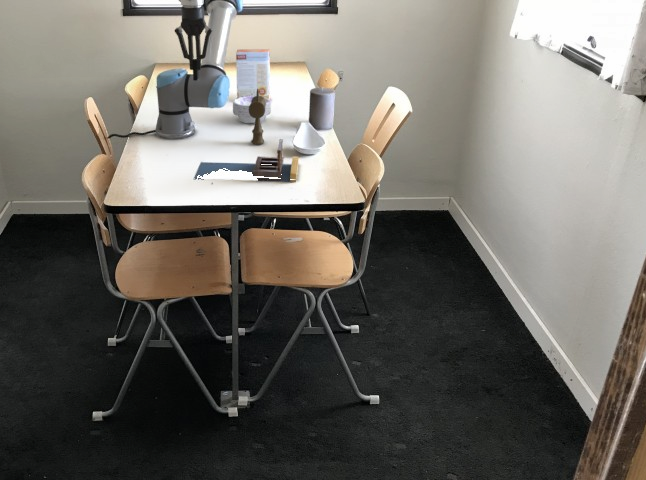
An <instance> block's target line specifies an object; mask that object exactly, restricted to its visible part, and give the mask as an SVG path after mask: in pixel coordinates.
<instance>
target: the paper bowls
mask: <svg viewBox="0 0 646 480" xmlns="http://www.w3.org/2000/svg"><path fill="white" fill-rule="evenodd" d="M253 97H255V96H247V97H240V98H237V97H236V98H235V99H233V101H232V114H233V115H234V116H236V117H237V118H238V120H239V121H240V122H242V123H245V124H255V118H253V117H251V116H250V114H249V106H250V104H251V100H252V98H253ZM264 98H265V97H264ZM265 100H266V107H265V114H264V115H263V117H261V118H260V122H263V121H264V120H265V119H266V117H267V116H269V115H270V114H271V111H272V109H271V106H272V105H271V104H272V102H271V98H270V99H268V98H265Z"/></svg>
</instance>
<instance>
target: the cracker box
mask: <svg viewBox="0 0 646 480" xmlns="http://www.w3.org/2000/svg"><path fill="white" fill-rule="evenodd" d="M270 51H271V50H270V49H269V48H267V49H263V48H261V49H259V48H257V49H256V48H255V49H254V48H253V49H239V48H237V50H236V52H235V59H236V60H235V62H236V63H235V64H236V65H235V67H236V96H237V97H236V99H237V98H240V97H247V96H257V89H258V90H259V96H262V97H265V98H268V99H270V100H271V85H270V84H271V83H270V82H271V68H270V67H271V64H270V63H271V59H270V58H271V56H270V53H271V52H270Z"/></svg>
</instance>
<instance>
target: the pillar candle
mask: <svg viewBox="0 0 646 480" xmlns="http://www.w3.org/2000/svg"><path fill="white" fill-rule="evenodd" d="M335 97H336V90H335V89H333V88H331V87H330V88H329V87H323V86H322V87H314V88H311V89H310V90H309V107H308V109H309V111H308V122H309V123H310V124H311V125H312V126H313V128H314V129H315V130H316V131H318V130H319V131H324V130H330V129H332V128H333V127H334V116H335V115H334V113H335V99H336V98H335Z"/></svg>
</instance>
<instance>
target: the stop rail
mask: <svg viewBox="0 0 646 480" xmlns="http://www.w3.org/2000/svg"><path fill="white" fill-rule="evenodd" d="M299 158H300V157H299V156H292V160H291V164H292V165H291V172H290V179H296V180H290V182H289V183H297V181H298V180H297V179H298V172H297V171H299Z"/></svg>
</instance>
